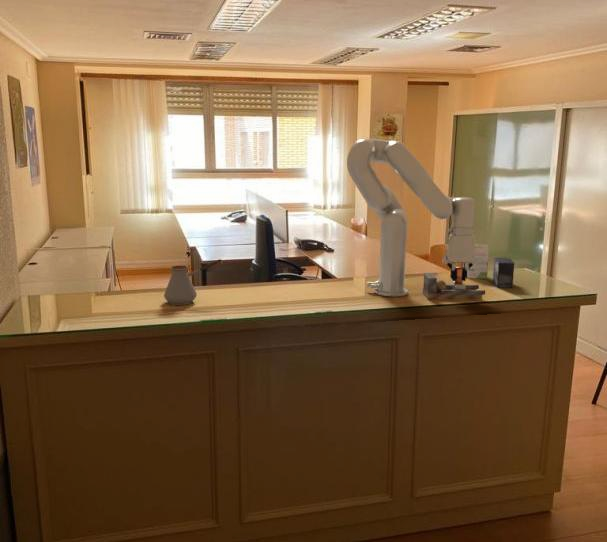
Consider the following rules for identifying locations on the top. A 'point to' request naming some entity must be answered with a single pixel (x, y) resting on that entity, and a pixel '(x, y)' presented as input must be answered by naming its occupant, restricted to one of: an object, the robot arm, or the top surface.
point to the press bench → (449, 291)
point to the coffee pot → (182, 285)
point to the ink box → (480, 263)
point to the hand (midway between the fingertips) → (458, 279)
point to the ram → (458, 280)
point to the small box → (503, 272)
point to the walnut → (440, 285)
